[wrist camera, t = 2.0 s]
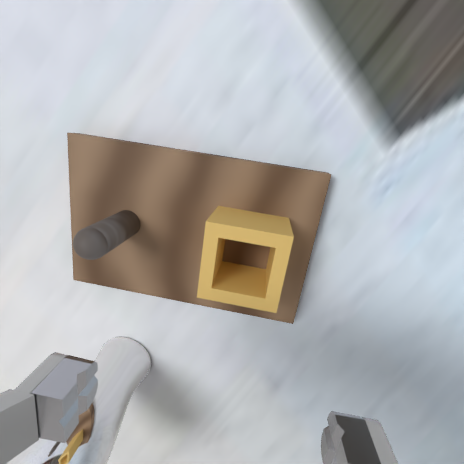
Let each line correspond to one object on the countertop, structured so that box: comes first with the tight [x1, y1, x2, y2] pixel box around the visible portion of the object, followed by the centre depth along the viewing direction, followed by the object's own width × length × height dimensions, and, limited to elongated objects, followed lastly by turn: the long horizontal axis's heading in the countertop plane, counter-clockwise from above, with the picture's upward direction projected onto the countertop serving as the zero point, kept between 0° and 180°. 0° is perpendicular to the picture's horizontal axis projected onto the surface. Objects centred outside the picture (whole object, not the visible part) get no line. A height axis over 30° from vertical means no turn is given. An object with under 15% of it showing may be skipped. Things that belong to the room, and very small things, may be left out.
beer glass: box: [6, 337, 151, 464], centre depth 25 cm, size 7×7×15 cm
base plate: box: [67, 133, 331, 324], centre depth 22 cm, size 22×14×8 cm, turn 82°
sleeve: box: [197, 206, 294, 313], centre depth 22 cm, size 6×6×5 cm
